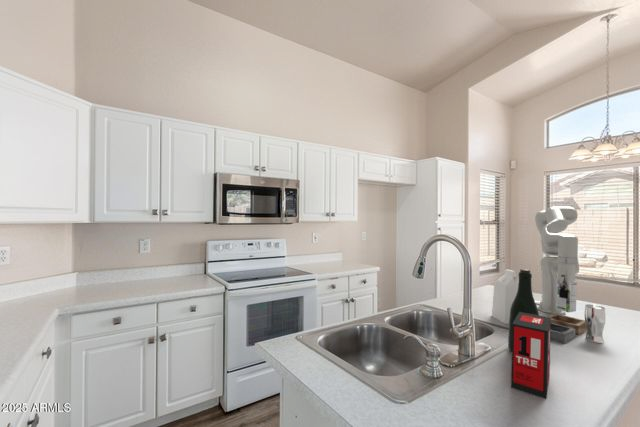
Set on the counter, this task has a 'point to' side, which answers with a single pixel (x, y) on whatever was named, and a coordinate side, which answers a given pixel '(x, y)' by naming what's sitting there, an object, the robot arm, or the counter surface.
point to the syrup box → (570, 302)
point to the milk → (504, 295)
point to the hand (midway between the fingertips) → (566, 296)
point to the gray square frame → (561, 333)
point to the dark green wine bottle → (522, 301)
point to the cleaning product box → (531, 354)
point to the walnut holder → (570, 323)
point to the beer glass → (595, 322)
